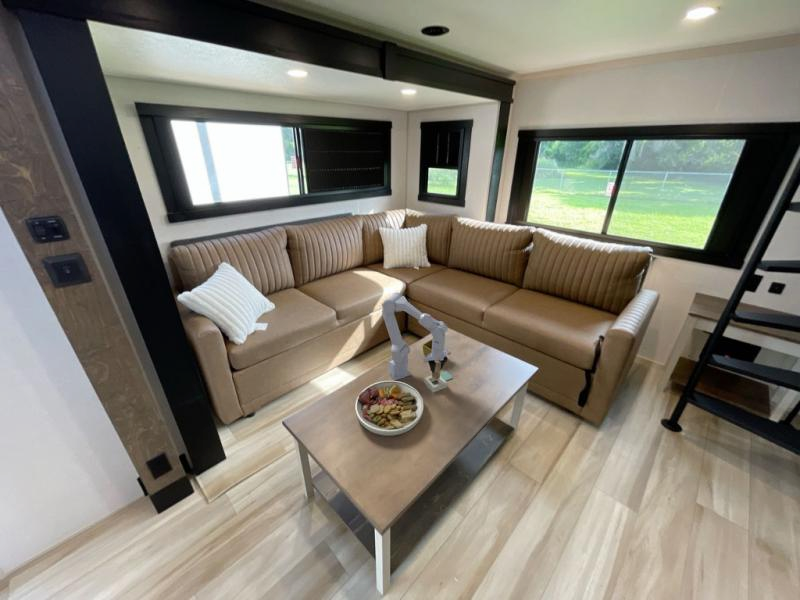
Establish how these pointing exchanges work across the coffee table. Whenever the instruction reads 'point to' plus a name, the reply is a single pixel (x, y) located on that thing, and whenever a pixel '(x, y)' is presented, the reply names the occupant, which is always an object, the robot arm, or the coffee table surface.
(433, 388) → the socket block
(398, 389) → the bowl
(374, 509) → the coffee table surface
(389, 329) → the robot arm
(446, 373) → the pad
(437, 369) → the dowel
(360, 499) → the coffee table surface
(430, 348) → the flower pot
